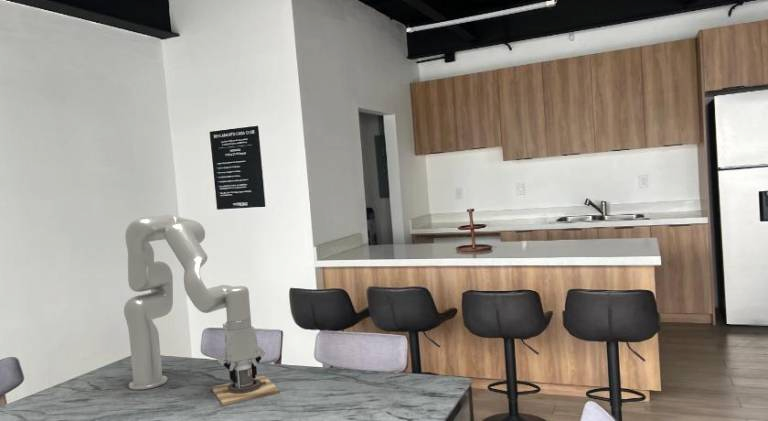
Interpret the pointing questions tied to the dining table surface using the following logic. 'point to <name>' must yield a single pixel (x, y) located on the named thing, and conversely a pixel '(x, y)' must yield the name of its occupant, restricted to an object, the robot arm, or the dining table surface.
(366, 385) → the dining table surface
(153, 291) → the robot arm
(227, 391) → the socket board
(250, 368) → the pill bottle
